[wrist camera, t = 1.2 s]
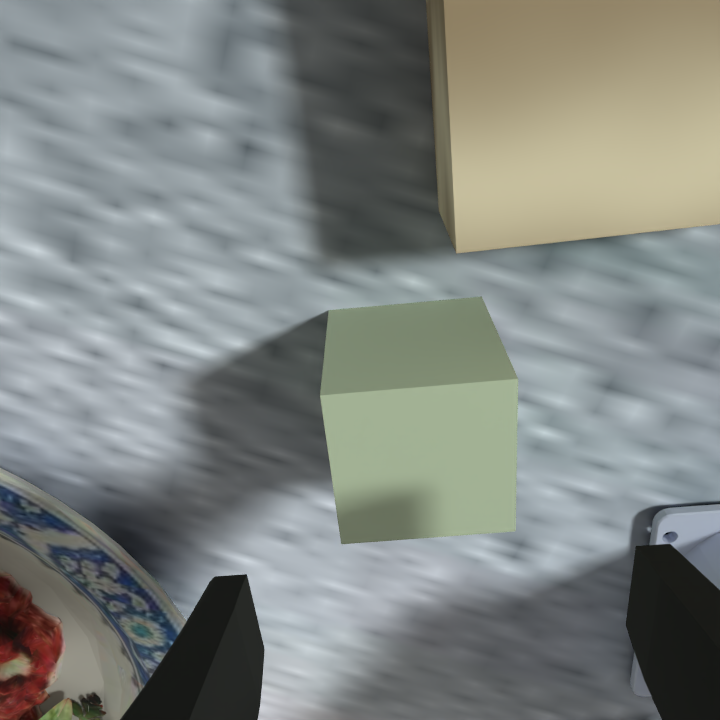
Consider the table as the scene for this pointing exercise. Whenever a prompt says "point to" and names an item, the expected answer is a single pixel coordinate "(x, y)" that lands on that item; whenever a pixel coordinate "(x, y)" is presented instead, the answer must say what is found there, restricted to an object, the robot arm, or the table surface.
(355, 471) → the green block
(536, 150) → the birch block
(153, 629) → the ceramic plate
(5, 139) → the table surface
